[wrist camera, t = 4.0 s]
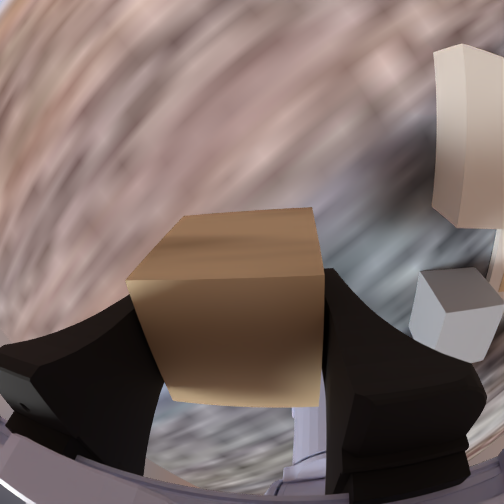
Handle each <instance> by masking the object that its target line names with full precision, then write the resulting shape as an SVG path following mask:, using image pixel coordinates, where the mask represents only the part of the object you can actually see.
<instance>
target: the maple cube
mask: <svg viewBox="0 0 504 504" xmlns="http://www.w3.org/2000/svg"><path fill="white" fill-rule="evenodd" d="M125 281H126V285H127V288H128V290H129V293H130V296H131V299H132V302H133V305H134V308H135V310H136V313H137V316H138V319H139V321H140V324H141V327H142V329H143V332H144V334H145V337H146V339H147V342H148V344H149V347H150V349H151V352H152V354H153V357H154V359H155V361H156V364H157V366H158V368H159V371H160V373H161V375H162V377H163V380H164V382H165V384H166V386H167V388H168V390H169V393H170V395H171V397H172V399H173V401H180V402H189V403H199V404H210V405H223V406H240V407H319V397H320V384H321V369H322V351H323V328H324V289H325V274H324V268H323V263H322V257H321V251H320V246H319V241H318V235H317V230H316V225H315V220H314V215H313V210H312V207H308V208H289V209H271V210H255V211H241V212H227V213H214V214H201V215H190V216H183V217H182V218H181V219H180V220H179V222H178V223H177V224H176V225H175V226H174V227H173V228H172V229H171V230H170V231H169V232H168V233H167V234H166V235H165V236H164V238H163V239H162V240H161V241H160V242H159V243H158V244H157V245H156V246H155V247H154V248H153V250H152V251H151V252H150V253H149V254H148V255H147V256H146V257H145V258H144V259H143V261H142V262H141V263H140V264H139V265H138V266H137V267H136V269H135V270H134V271H133V272H132V273H131V274H130V275H129V276H128V278H127V279H126V280H125Z"/></svg>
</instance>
